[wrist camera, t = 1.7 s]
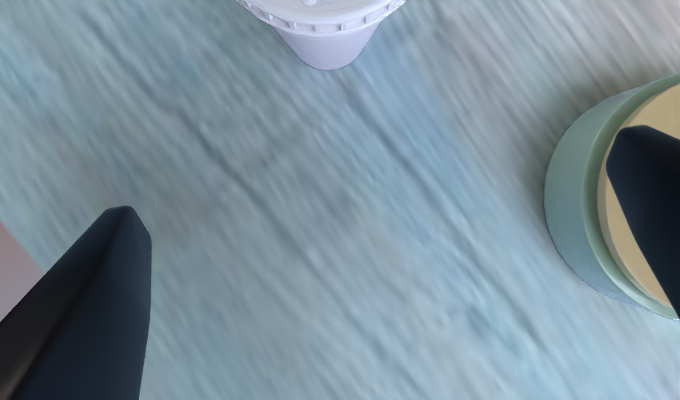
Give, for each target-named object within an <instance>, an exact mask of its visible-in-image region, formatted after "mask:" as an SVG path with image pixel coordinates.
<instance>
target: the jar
mask: <svg viewBox="0 0 680 400" xmlns="http://www.w3.org/2000/svg"><path fill="white" fill-rule="evenodd" d="M636 125H648V126H650V127H652V128H655V129H657V130H659V131H661V132H664V133H666V134H668V135H670V136H673V137H675V138H677V139H680V73H676V74H673V75H670V76H666V77H663V78H660V79H657V80H654V81H652V82H649V83H646V84H643V85H640V86H638V87H635V88H632V89H629V90H626V91H624V92H621V93H618V94H615V95H613V96H611V97H608V98H606V99H604V100H602V101H600V102H599V103H597V104H595V105H594V106H592V107H591V108H589V109H588V110H587V111H585V112H584V113H583V114H582V115H581V116H579V117H578V118H577V119H576V120H575V122H574V123H573V124H572V125H571V126H570V127H569V128H568V129H567V131H566V132H565V134H564V135H563V136H562V138H561V139H560V141H559V143H558V145H557V147H556V148H555V150H554V152H553V155H552V158H551V160H550V163H549V166H548V170H547V174H546V178H545V187H544V209H545V215H546V221H547V225H548V228H549V231H550V235H551V237H552V239H553V241H554V244H555V246H556V248H557V250H558V251H559V253H560V255H561V256H562V258H563V259H564V261H565V262H566V263H567V264H568V266H569V267H570V268H571V269H572V271H573V272H575V273H576V274H577V275H578V276H579V277H580V278H581V279H582V280H583V281H584V282H586V283H587V284H589V285H590V286H591V287H593V288H594V289H596V290H598V291H600V292H602V293H604V294H605V295H607V296H610V297H613V298H615V299H618V300H621V301H623V302H626V303H629V304H631V305H634V306H636V307H639V308H642V309H644V310H647V311H650V312H652V313H655V314H658V315H660V316H663V317H666V318H668V319H673V320H677V321H680V319H679V318H678V316H677V314H676V312H675V311H674V309H673V307H672V305H671V303H670V302H669V300H668V298H667V296H666V295H665V293H664V291H663V289H662V288H661V286H660V284H659V282H658V281H657V279H656V277H655V275H654V274H653V272H652V270H651V268H650V267H649V265H648V263H647V261H646V259H645V258H644V256H643V254H642V252H641V251H640V249H639V247H638V245H637V243H636V241H635V239H634V237H633V235H632V232H631V230H630V228H629V226H628V223H627V221H626V218H625V216H624V214H623V211H622V209H621V207H620V204H619V202H618V199H617V197H616V195H615V192H614V190H613V188H612V185H611V183H610V180H609V178H608V176H607V173H606V160H607V157H608V155H609V152H610V150H611V147H612V145H613V142H614V140H615V137H616V135H617V133H618V131H619V130H620V129H622V128H624V127H630V126H636Z"/></svg>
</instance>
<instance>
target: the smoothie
mask: <svg viewBox="0 0 680 400" xmlns="http://www.w3.org/2000/svg"><path fill="white" fill-rule="evenodd" d="M237 1H238V3H240V4H241V5H242V6H243V7H245V8H246V9H247V10H249V11H250V12H251V13H252V14H254V15H255V16H256V17H257V18H259V19H260V20H261V21H263V22H265V23H267V24H270V25H272V26H273V28H274V29H275V30H276V31H277V32H278V34H279V35H280V36H281V37H282V38H283V39H284V41H285V42H286V43H287V44H288V45H289V47H290V48H291V49H292V50H293V51H294V52H295V54H296V55H297V56H298V57H299V58H300V59H301V60H302V61H303V62H305V63H306V64H308V65H309V66H312V67H314V68H317V69H322V70H334V69H339V68H342V67H344V66H346V65H348V64H350V63H351V62H353V61H354V60H355V59H356V58H357V57H358V56H359V55H360V53H361V52H362V50H363V49H364V47H365V46H366V44H367V43H368V41H369V39H370V38H371V36H372V35H373V33H374V32H375V30H376V29H377V27H378V26H379V24H380V23H381V21H382V20H383V19H384V18H385V17H386V16H388V15H389V14H390V13H392V12H393V11H394V10H396V9H397V8H398V7H400V6H401V5H402V4H403V3H404V2H405V1H406V0H237Z"/></svg>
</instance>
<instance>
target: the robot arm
mask: <svg viewBox="0 0 680 400" xmlns="http://www.w3.org/2000/svg"><path fill="white" fill-rule="evenodd" d="M606 173H607V176H608V178H609V180H610V183H611V185H612V188H613V190H614V192H615V195H616V197H617V199H618V202H619V204H620V207H621V209H622V211H623V214H624V216H625V218H626V221H627V223H628V226H629V228H630V230H631V232H632V235H633V237H634V239H635V241H636V243H637V245H638V247H639V249H640V251H641V252H642V254H643V256H644V258H645V259H646V261H647V263H648V265H649V267H650V268H651V270H652V272H653V274H654V275H655V277H656V279H657V281H658V282H659V284H660V286H661V288H662V289H663V291H664V293H665V295H666V296H667V298H668V300H669V302H670V303H671V305H672V307H673V309H674V311H675V312H676V314H677V316H678V318H679V319H680V139H677V138H675V137H673V136H670V135H668V134H666V133H664V132H661V131H659V130H657V129H655V128H652V127H650V126H648V125H636V126H630V127H624V128H622V129H620V130H619V131H618V133H617V135H616V137H615V140H614V142H613V145H612V147H611V150H610V152H609V155H608V157H607V160H606ZM151 259H152V243H151V237H150V235H149V233H148V231H147V229H146V228H145V226H144V224H143V223H142V221H141V219H140V218H139V216H138V215H137V213H136V211H135V210H134V209H133V208H132V207H131V206H120V207H114V208H109V209H107V210H105V211H104V212H103V213H102V214H101V215H100V216H99V217H98V218H97V219H96V221H95V222H94V223H93V224H92V225H91V226H90V227H89V228H88V229H87V230H86V231H85V232H84V233H83V234H82V236H81V237H80V238H79V239H78V240H77V241H76V242H75V243H74V244H73V245H72V246H71V247H70V248H69V249H68V250H67V252H66V253H65V254H64V255H63V256H62V257H61V258H60V259H59V260H58V261H57V262H56V263H55V264H54V265H53V266H52V268H51V269H50V270H49V271H48V272H47V273H46V274H45V275H44V276H43V277H42V278H41V279H40V280H39V282H37V284H36V285H35V286H34V287H33V288H32V289H31V290H30V291H29V292H28V293H27V294H26V295H25V296H24V297H23V298H22V300H21V301H20V302H19V303H18V304H17V305H16V306H15V307H14V308H13V309H12V310H11V311H10V312H9V313H8V315H7V316H6V317H5V318H4V319H3V320H2V321H1V322H0V400H139V394H140V387H141V380H142V373H143V366H144V359H145V352H146V345H147V338H148V331H149V322H150V308H151Z"/></svg>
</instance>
